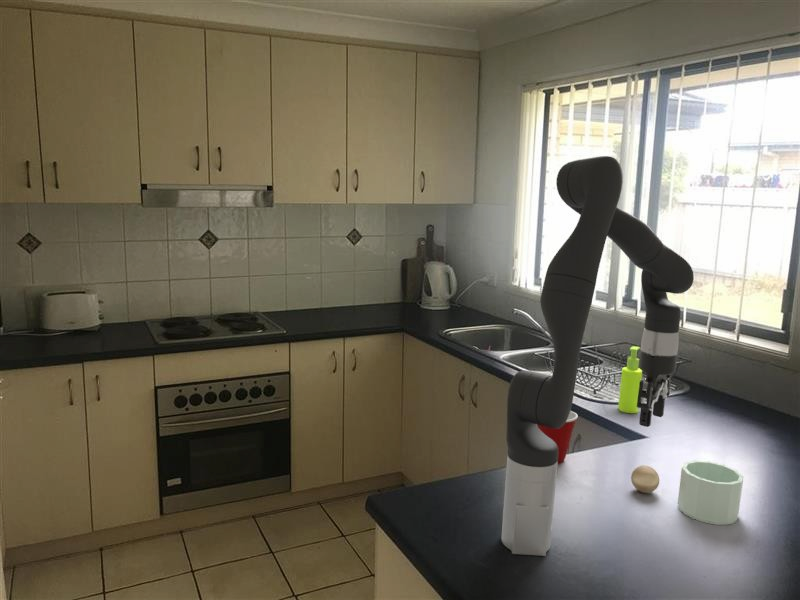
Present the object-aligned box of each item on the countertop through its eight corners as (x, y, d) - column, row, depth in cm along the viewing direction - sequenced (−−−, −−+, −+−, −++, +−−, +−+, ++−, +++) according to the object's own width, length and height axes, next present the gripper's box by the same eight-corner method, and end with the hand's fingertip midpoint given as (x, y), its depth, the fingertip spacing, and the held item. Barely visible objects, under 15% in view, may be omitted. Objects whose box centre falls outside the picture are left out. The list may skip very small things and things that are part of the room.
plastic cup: (542, 446, 176) (546, 403, 174) (581, 458, 169) (585, 413, 167) (522, 458, 167) (525, 412, 165) (561, 471, 161) (566, 423, 159)
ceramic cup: (747, 526, 137) (753, 485, 136) (689, 523, 138) (694, 482, 136) (723, 500, 149) (728, 462, 147) (670, 497, 149) (674, 459, 148)
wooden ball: (661, 498, 149) (664, 473, 148) (634, 496, 149) (636, 471, 148) (653, 486, 154) (655, 462, 153) (626, 484, 155) (629, 460, 154)
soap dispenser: (640, 408, 210) (647, 346, 207) (635, 414, 205) (642, 351, 201) (621, 404, 214) (627, 343, 210) (616, 410, 208) (622, 347, 204)
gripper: (652, 341, 154) (645, 409, 157) (630, 352, 143) (622, 424, 146) (686, 347, 149) (678, 417, 152) (666, 359, 138) (657, 433, 141)
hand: (651, 420), depth 149 cm, fingers open, 8 cm apart
